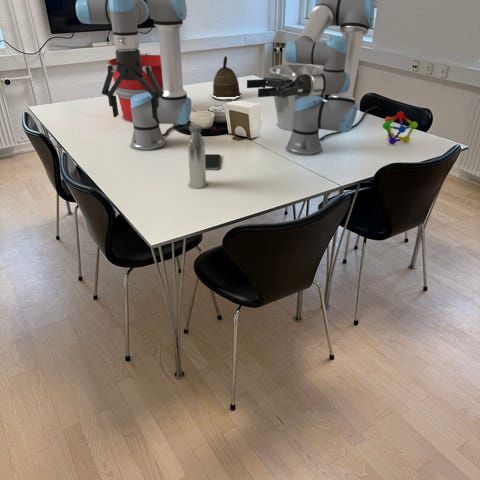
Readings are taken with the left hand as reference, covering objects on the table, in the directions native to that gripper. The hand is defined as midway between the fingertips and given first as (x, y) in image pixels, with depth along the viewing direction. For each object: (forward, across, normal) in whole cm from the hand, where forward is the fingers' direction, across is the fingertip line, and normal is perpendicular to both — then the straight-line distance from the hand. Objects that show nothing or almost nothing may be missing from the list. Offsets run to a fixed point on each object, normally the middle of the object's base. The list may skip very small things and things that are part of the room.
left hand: (135, 116), depth 150 cm
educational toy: (+28, +102, +67) cm, 125 cm away
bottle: (+28, +19, +9) cm, 35 cm away
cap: (+6, +19, +9) cm, 21 cm away
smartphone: (+28, +20, +31) cm, 46 cm away
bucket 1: (+28, -28, +94) cm, 102 cm away
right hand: (-7, +38, +16) cm, 42 cm away
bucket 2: (+28, +55, +88) cm, 107 cm away
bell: (+28, +10, +140) cm, 143 cm away
